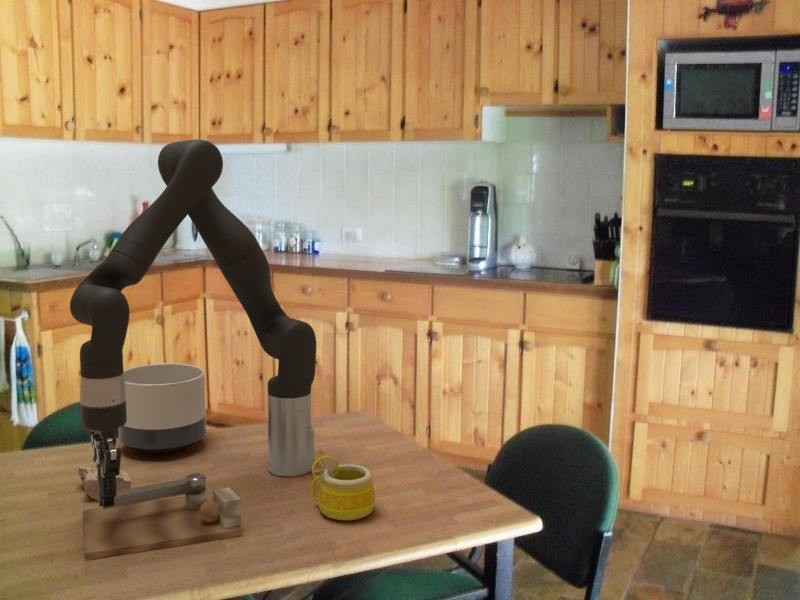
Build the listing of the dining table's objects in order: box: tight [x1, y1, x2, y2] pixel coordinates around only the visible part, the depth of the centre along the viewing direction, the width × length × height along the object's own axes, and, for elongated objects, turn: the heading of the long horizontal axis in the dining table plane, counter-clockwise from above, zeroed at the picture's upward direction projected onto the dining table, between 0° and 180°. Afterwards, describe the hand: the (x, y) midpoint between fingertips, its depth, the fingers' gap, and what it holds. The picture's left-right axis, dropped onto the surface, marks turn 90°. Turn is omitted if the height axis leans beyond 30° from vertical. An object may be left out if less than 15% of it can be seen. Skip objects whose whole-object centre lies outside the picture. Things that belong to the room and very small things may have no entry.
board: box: [82, 487, 243, 561], centre depth 147 cm, size 26×18×6 cm
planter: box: [118, 362, 207, 455], centre depth 186 cm, size 19×19×18 cm
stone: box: [78, 465, 132, 501], centre depth 163 cm, size 9×11×5 cm
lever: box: [97, 458, 207, 510], centre depth 148 cm, size 19×4×8 cm, turn 121°
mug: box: [310, 448, 376, 522], centre depth 154 cm, size 13×11×12 cm
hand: (107, 491), depth 144 cm, fingers closed on lever, 3 cm apart
